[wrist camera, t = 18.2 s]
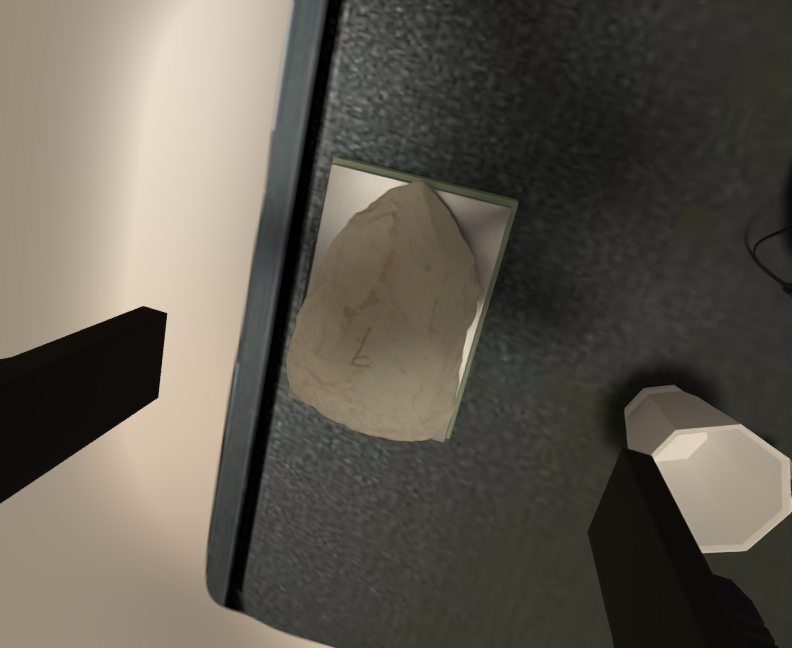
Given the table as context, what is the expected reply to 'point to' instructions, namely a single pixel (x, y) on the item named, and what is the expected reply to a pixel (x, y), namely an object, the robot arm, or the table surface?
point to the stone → (388, 319)
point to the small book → (470, 208)
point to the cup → (711, 467)
